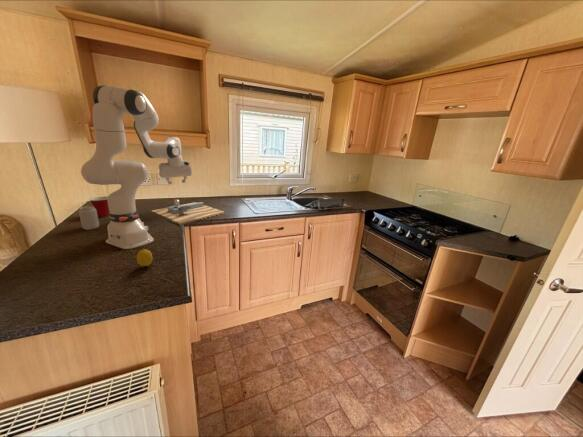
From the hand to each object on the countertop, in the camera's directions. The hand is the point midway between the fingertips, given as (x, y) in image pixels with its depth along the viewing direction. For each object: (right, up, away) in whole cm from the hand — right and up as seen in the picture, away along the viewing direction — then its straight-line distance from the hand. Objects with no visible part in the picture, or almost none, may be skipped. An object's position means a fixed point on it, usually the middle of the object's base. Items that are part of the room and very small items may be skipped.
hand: (177, 183), depth 163 cm
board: (+5, -20, +6) cm, 22 cm away
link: (+3, -17, +10) cm, 20 cm away
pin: (-2, -19, +4) cm, 19 cm away
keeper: (+6, -21, -1) cm, 21 cm away
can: (-34, -29, -28) cm, 53 cm away
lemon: (+17, -44, -62) cm, 78 cm away
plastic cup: (-42, -22, -9) cm, 49 cm away
